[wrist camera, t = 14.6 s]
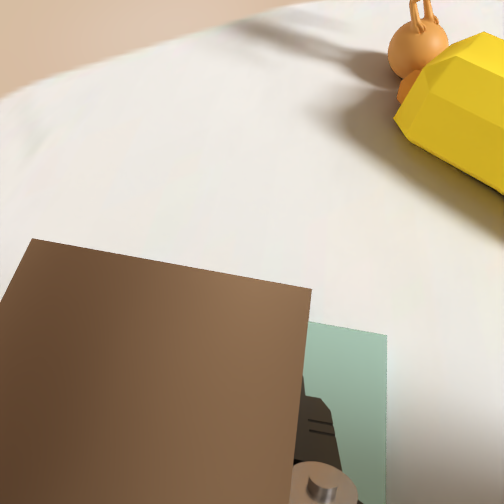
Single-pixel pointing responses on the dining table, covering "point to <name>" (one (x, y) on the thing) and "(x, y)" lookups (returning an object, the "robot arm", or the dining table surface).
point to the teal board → (352, 400)
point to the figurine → (416, 41)
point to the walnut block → (146, 382)
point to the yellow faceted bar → (459, 108)
